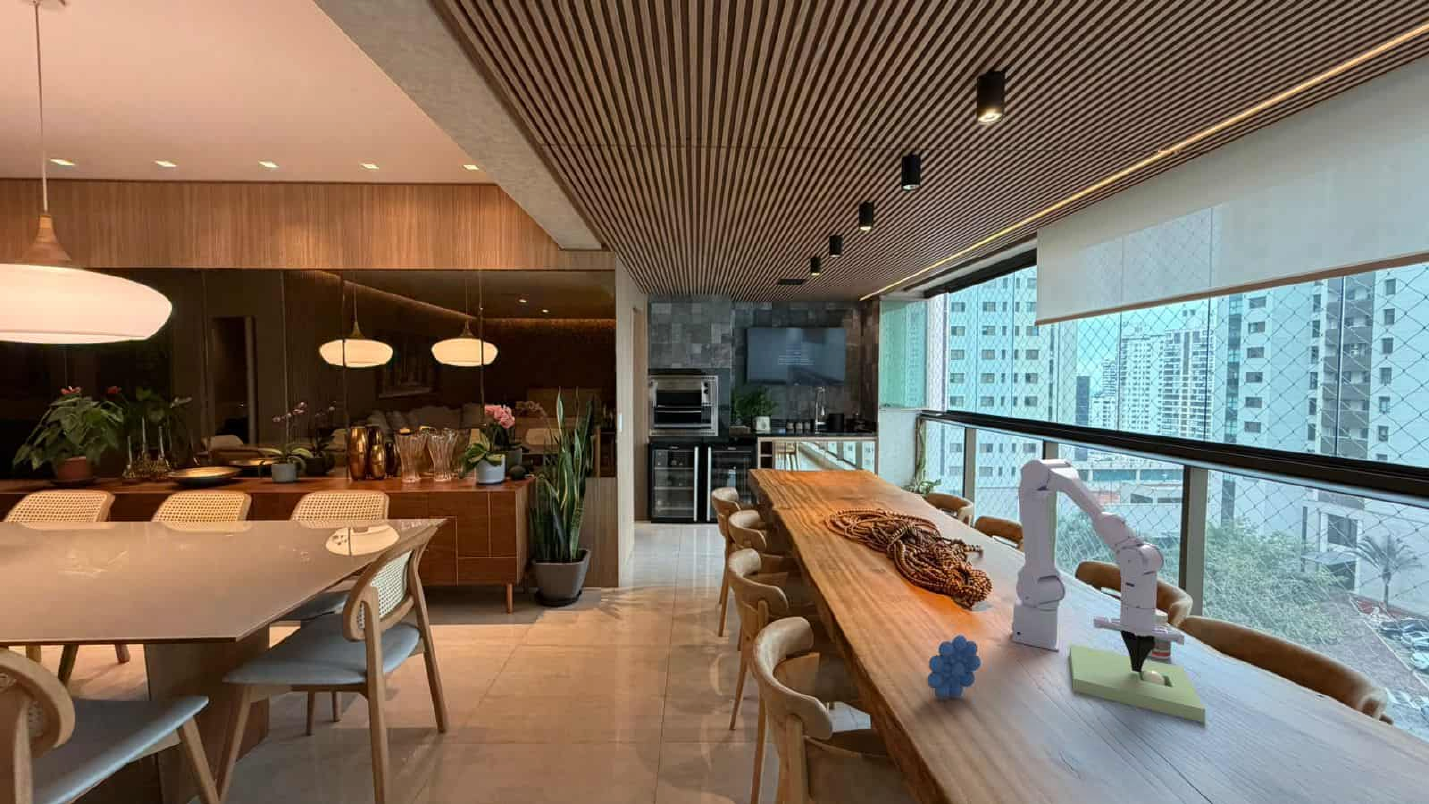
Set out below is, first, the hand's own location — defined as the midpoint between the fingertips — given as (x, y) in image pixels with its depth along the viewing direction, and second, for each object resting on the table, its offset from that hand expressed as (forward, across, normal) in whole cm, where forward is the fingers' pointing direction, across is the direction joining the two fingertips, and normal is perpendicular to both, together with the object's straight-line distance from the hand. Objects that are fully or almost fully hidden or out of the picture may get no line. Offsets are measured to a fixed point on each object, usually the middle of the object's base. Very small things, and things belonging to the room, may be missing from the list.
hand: (1136, 669), depth 112 cm
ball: (+1, +3, 0) cm, 3 cm away
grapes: (+4, -32, -24) cm, 40 cm away
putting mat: (+3, -1, 0) cm, 4 cm away
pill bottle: (+4, +6, +20) cm, 21 cm away
